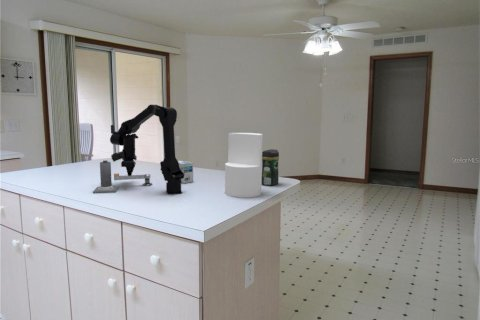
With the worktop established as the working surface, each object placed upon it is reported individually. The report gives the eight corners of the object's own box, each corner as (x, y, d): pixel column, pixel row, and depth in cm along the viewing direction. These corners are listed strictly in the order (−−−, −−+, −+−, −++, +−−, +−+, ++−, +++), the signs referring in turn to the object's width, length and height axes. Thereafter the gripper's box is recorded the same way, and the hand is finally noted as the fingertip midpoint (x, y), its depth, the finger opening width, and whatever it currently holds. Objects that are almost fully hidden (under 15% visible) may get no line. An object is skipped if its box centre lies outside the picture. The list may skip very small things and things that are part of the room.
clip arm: (150, 177, 180) (150, 171, 179) (150, 178, 177) (150, 172, 176) (114, 179, 174) (114, 173, 174) (114, 180, 171) (113, 174, 171)
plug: (114, 187, 168) (113, 160, 166) (109, 189, 163) (107, 161, 161) (103, 186, 169) (102, 159, 167) (97, 189, 163) (96, 161, 161)
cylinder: (237, 187, 176) (237, 132, 172) (267, 191, 168) (268, 133, 163) (217, 194, 162) (218, 134, 157) (250, 199, 153) (251, 136, 149)
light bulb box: (193, 182, 187) (193, 162, 185) (183, 183, 182) (183, 163, 180) (181, 179, 194) (181, 160, 192) (171, 180, 189) (171, 161, 188)
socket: (118, 187, 172) (118, 185, 172) (115, 192, 162) (115, 190, 162) (97, 188, 170) (97, 186, 170) (93, 193, 160) (92, 191, 160)
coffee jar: (267, 181, 190) (268, 148, 187) (280, 183, 186) (281, 149, 183) (258, 184, 182) (259, 149, 179) (272, 186, 178) (273, 151, 175)
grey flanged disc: (150, 183, 182) (149, 177, 181) (154, 185, 178) (153, 178, 177) (140, 184, 179) (140, 178, 178) (144, 186, 175) (144, 179, 174)
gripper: (114, 143, 180) (114, 172, 183) (109, 149, 162) (110, 181, 165) (136, 144, 183) (136, 172, 186) (134, 150, 165) (134, 181, 168)
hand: (129, 177), depth 176 cm, fingers closed
